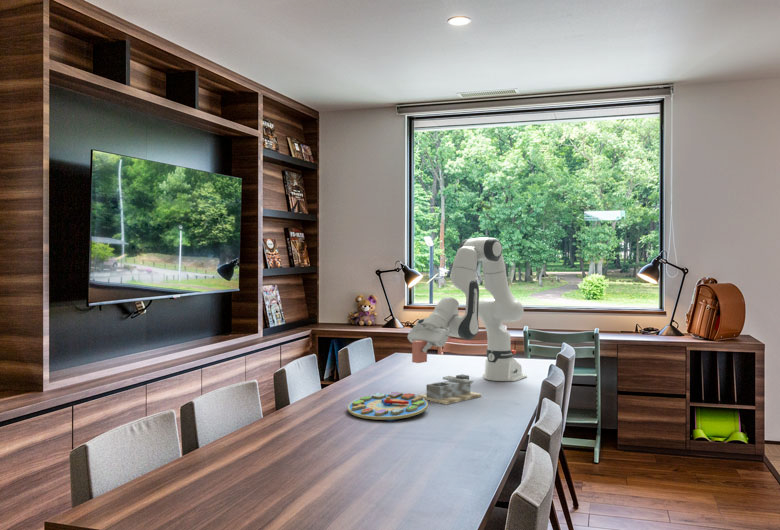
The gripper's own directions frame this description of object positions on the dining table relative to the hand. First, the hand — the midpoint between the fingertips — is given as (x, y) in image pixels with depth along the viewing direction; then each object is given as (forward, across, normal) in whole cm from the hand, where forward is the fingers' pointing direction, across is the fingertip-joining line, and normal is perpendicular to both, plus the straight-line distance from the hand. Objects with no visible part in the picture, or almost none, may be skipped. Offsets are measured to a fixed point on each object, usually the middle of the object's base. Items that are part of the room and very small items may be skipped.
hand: (418, 350), depth 270 cm
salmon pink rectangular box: (+3, 0, -4) cm, 5 cm away
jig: (+8, -12, -18) cm, 23 cm away
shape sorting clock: (+34, -13, +7) cm, 37 cm away
